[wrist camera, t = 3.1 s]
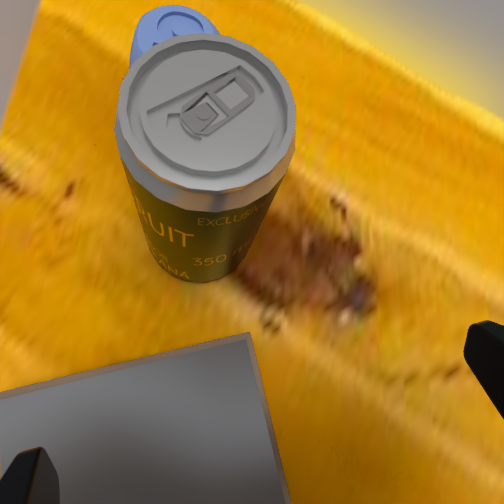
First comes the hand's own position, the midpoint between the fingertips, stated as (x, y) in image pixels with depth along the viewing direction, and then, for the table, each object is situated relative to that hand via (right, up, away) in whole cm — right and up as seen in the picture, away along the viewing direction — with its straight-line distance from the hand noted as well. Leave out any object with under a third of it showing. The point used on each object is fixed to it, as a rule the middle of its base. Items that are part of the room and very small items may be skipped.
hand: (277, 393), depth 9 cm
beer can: (-3, +4, +15) cm, 16 cm away
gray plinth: (-5, -8, +11) cm, 15 cm away
